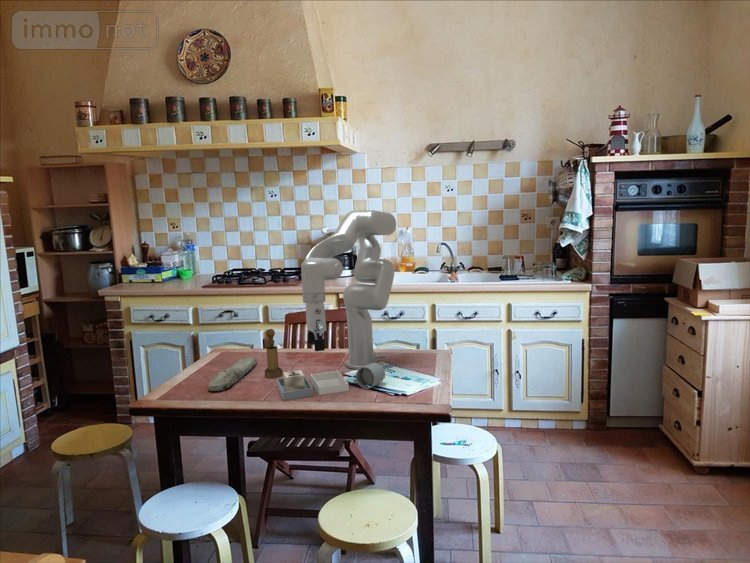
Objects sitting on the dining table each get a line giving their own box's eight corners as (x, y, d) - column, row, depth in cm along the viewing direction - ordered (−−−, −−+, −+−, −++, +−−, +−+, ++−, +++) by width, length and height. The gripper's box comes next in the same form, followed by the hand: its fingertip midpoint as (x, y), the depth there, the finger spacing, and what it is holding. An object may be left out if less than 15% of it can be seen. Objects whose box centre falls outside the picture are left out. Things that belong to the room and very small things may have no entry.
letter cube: (301, 386, 193) (300, 369, 192) (305, 392, 188) (304, 374, 187) (284, 389, 192) (283, 372, 191) (287, 395, 186) (286, 377, 185)
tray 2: (338, 378, 202) (337, 370, 201) (348, 391, 188) (348, 383, 187) (310, 382, 199) (310, 374, 198) (319, 396, 185) (319, 387, 184)
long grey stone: (264, 366, 226) (240, 367, 227) (262, 353, 225) (239, 354, 227) (229, 392, 191) (201, 393, 193) (227, 377, 191) (200, 378, 192)
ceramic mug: (387, 383, 195) (386, 361, 194) (375, 390, 188) (373, 368, 187) (361, 379, 201) (360, 358, 199) (348, 386, 194) (347, 365, 193)
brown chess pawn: (278, 379, 203) (275, 331, 201) (261, 379, 205) (258, 331, 202) (285, 373, 210) (281, 327, 207) (268, 373, 211) (265, 326, 208)
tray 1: (305, 383, 198) (304, 375, 198) (313, 397, 184) (313, 388, 184) (277, 387, 195) (276, 378, 195) (283, 401, 181) (282, 392, 181)
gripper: (331, 300, 180) (333, 352, 183) (318, 293, 197) (321, 340, 199) (308, 302, 178) (311, 354, 180) (297, 294, 194) (300, 342, 196)
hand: (316, 347), depth 190 cm, fingers open, 9 cm apart
